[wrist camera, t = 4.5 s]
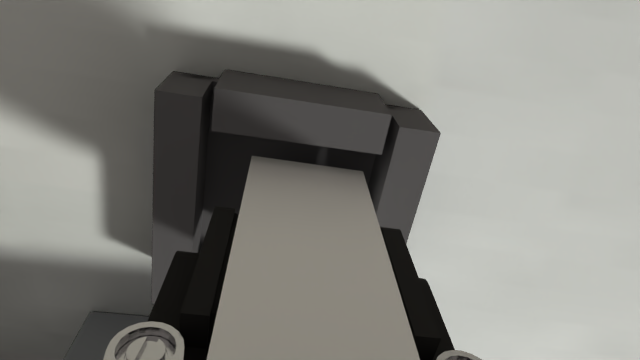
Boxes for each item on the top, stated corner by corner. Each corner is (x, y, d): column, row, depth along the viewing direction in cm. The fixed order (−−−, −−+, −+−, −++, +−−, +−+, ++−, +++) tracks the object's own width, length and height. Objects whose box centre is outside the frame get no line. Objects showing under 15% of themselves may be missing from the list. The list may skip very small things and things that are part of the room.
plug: (363, 171, 14) (475, 542, 5) (341, 260, 16) (399, 664, 7) (252, 155, 14) (168, 528, 5) (240, 248, 15) (162, 662, 6)
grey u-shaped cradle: (423, 100, 15) (443, 123, 13) (369, 290, 18) (379, 330, 17) (173, 61, 14) (154, 78, 12) (166, 270, 17) (151, 310, 15)
